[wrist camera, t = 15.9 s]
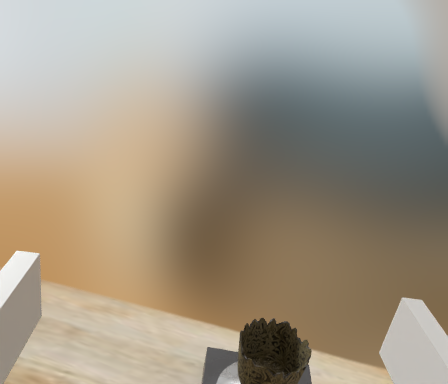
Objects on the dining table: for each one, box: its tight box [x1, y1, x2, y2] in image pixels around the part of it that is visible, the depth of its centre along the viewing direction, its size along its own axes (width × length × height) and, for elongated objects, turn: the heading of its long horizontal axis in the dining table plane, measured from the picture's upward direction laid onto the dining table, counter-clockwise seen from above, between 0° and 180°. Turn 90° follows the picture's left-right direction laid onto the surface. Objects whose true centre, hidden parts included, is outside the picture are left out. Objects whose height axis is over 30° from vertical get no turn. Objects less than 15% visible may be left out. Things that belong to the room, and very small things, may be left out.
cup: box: [238, 318, 311, 384], centre depth 43 cm, size 8×7×8 cm
